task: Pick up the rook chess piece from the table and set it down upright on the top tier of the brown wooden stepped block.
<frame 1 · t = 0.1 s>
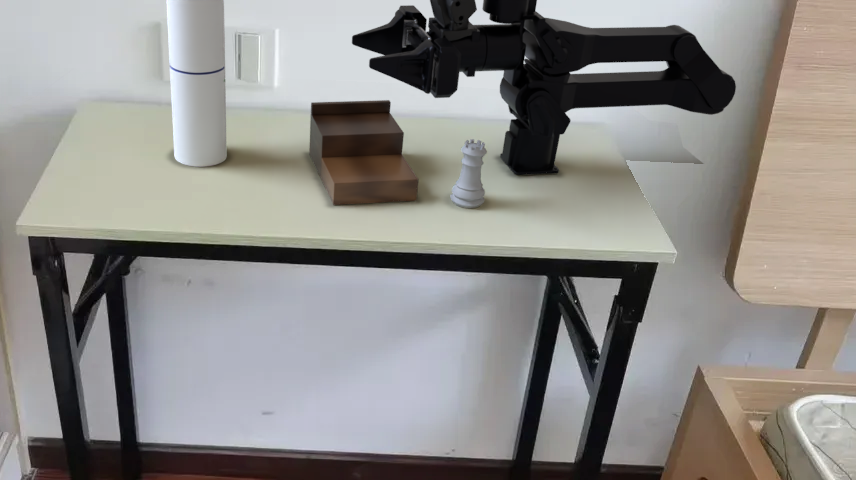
hand: (360, 51, 121), 17 cm above the table, tool horizontal, fingers open, 9 cm apart
cylindrical container: (200, 157, 133), on the table
brown wooden stepped block: (360, 176, 130), on the table
rook chess piece: (466, 203, 125), on the table
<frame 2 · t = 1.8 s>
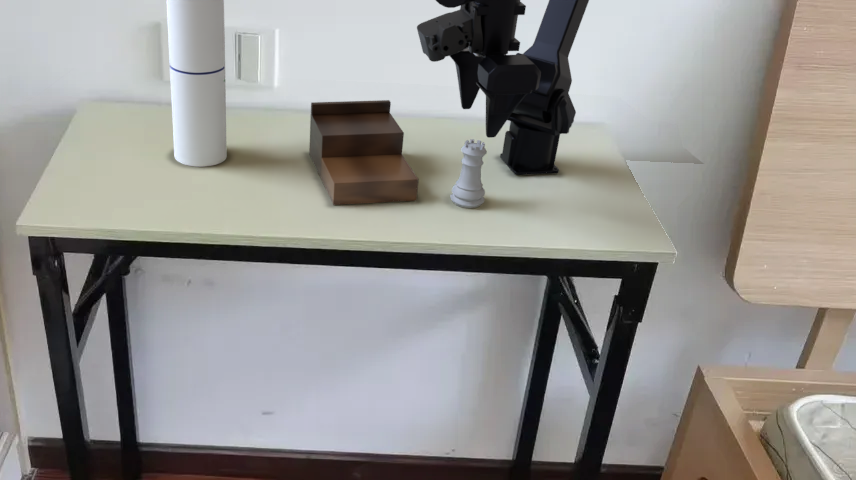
hand: (478, 122, 119), 11 cm above the table, tool pointing down, fingers open, 9 cm apart
nothing on the table moved.
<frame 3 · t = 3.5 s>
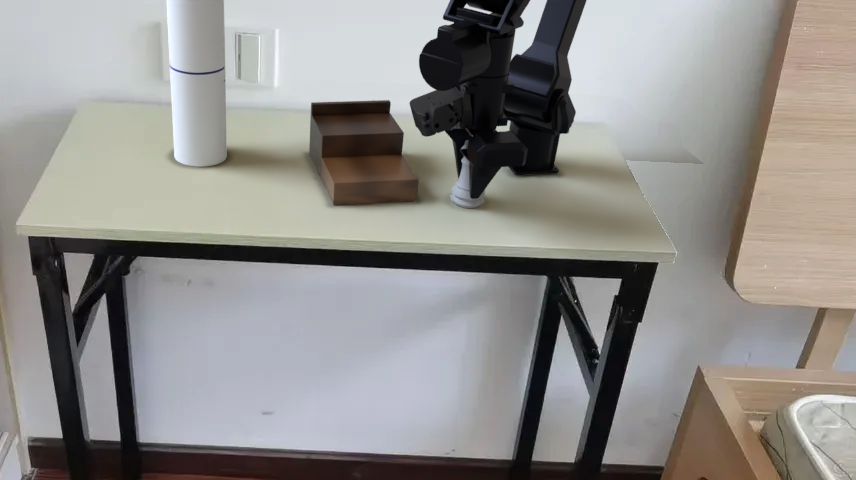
hand: (468, 190, 124), 2 cm above the table, tool pointing down, fingers closed on rook chess piece, 4 cm apart
rook chess piece: (466, 203, 125), on the table, touching gripper
everything else where it was.
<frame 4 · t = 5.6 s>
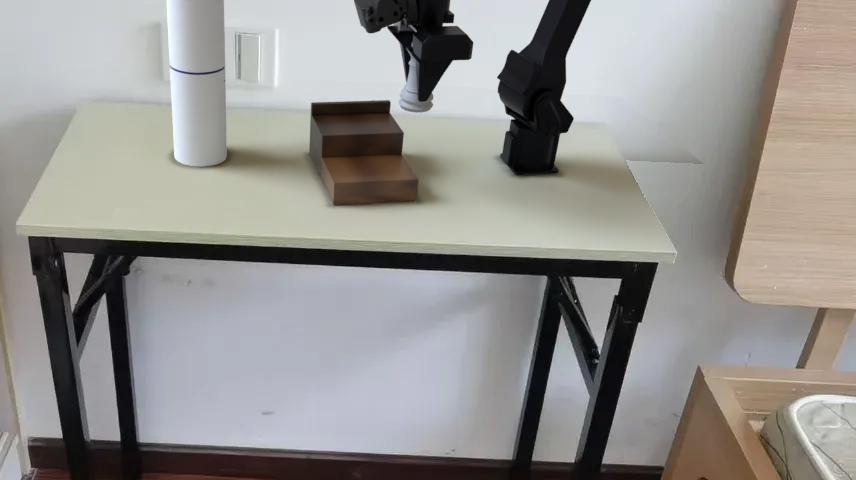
hand: (416, 94, 122), 12 cm above the table, tool pointing down, fingers closed on rook chess piece, 4 cm apart
rook chess piece: (415, 108, 123), point 10 cm above the table, touching gripper
everything else where it was.
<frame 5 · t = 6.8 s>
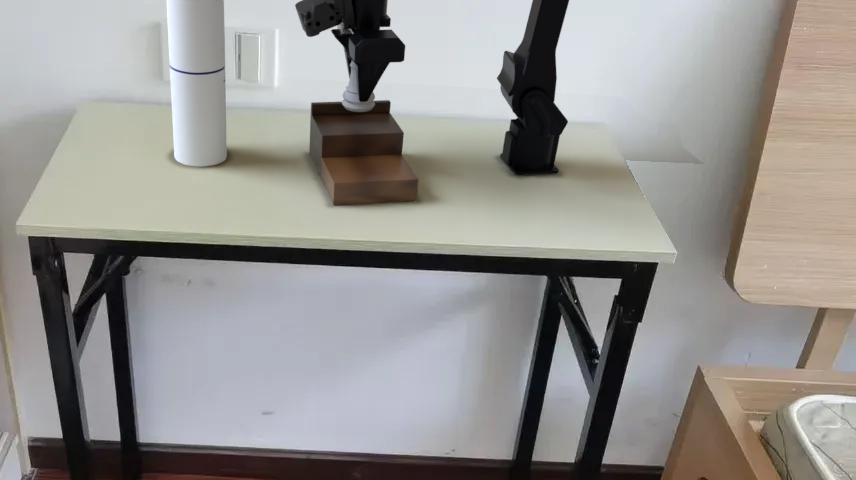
hand: (359, 95, 127), 10 cm above the table, tool pointing down, fingers closed on rook chess piece, 4 cm apart
rook chess piece: (358, 108, 128), point 8 cm above the table, touching gripper
everything else where it was.
when the fingers open (8 cm above the table, at t = 7.9 s): rook chess piece stays where it is, resting on brown wooden stepped block.
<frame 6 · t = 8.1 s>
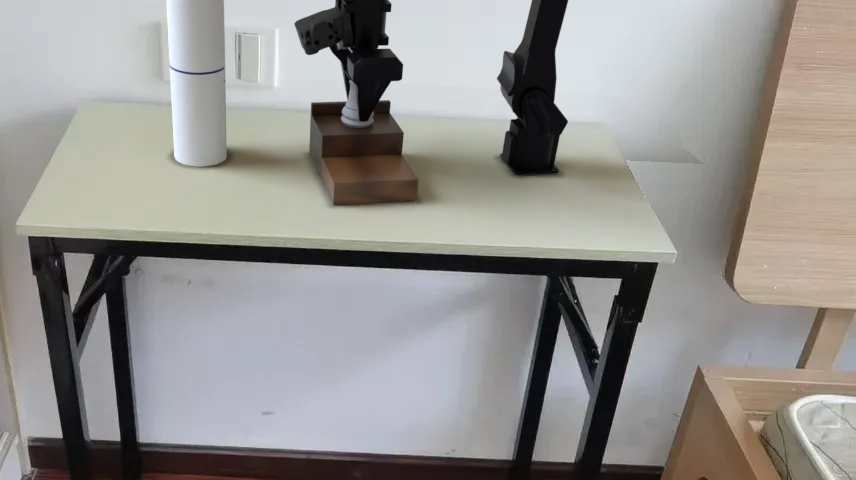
hand: (357, 111, 128), 8 cm above the table, tool pointing down, fingers open, 6 cm apart
rook chess piece: (357, 124, 129), point 6 cm above the table, touching brown wooden stepped block
everything else where it was.
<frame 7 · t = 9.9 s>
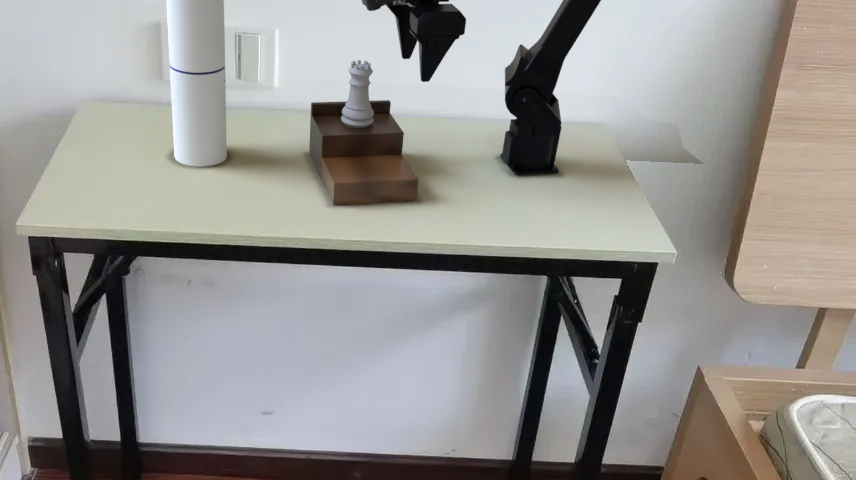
hand: (415, 69, 130), 12 cm above the table, tool pointing down, fingers open, 9 cm apart
nothing on the table moved.
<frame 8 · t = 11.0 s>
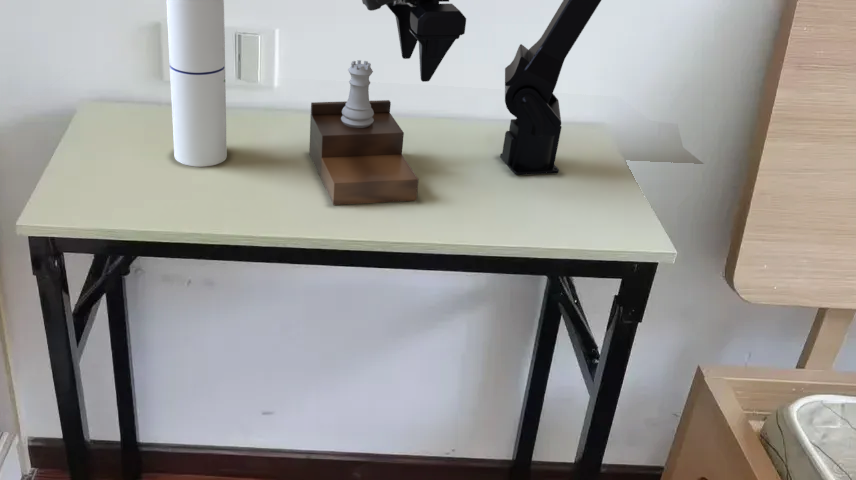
hand: (415, 69, 130), 12 cm above the table, tool pointing down, fingers open, 9 cm apart
nothing on the table moved.
at the end: rook chess piece inside the target area on the brown wooden stepped block (0.2 cm from its centre), point 5.8 cm above the brown wooden stepped block's base; rook chess piece tilted 0°; the gripper is holding nothing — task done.
